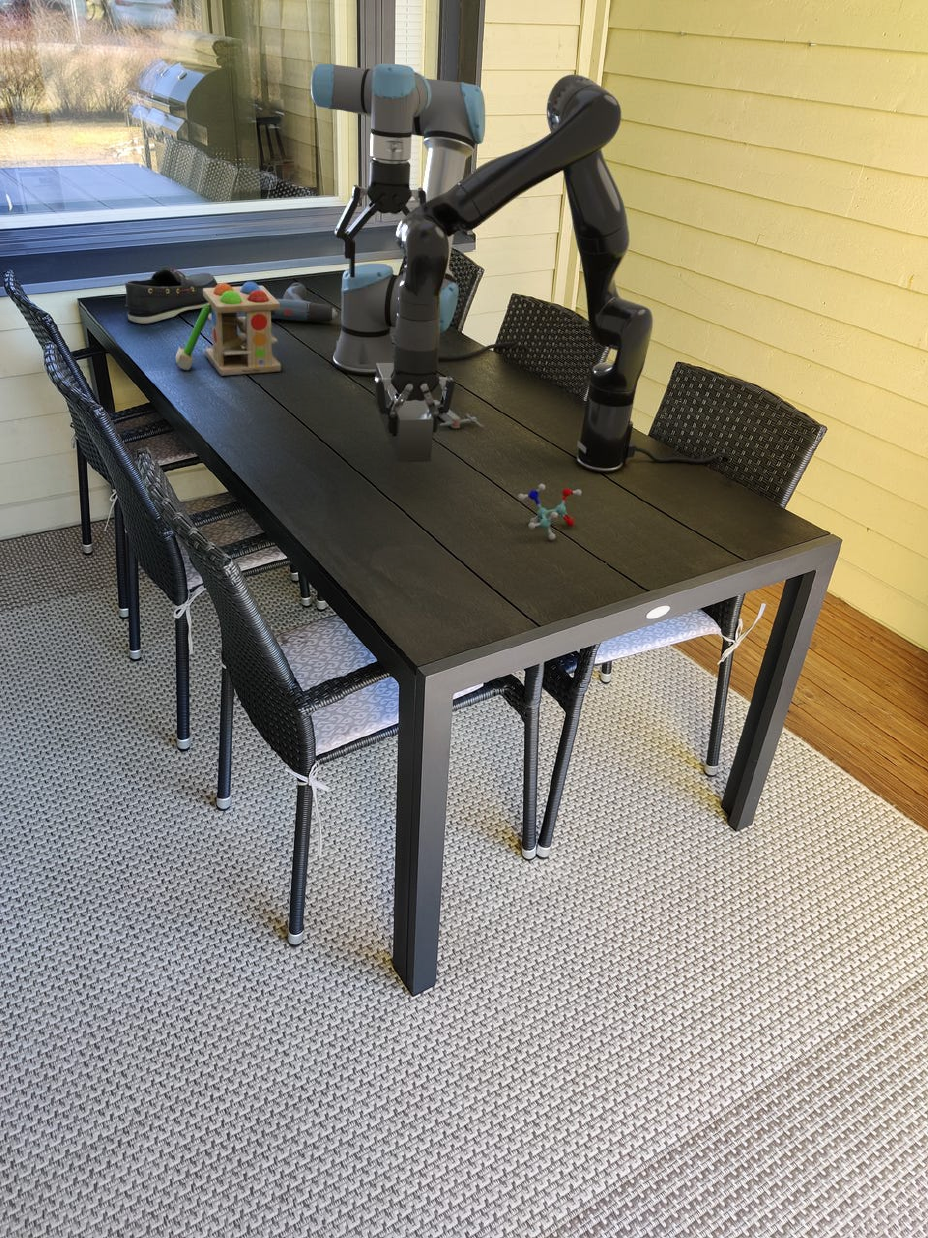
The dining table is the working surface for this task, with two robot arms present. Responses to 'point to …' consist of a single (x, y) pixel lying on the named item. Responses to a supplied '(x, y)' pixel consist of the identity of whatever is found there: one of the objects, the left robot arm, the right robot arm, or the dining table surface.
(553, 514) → the molecular model
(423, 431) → the bar
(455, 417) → the clamp
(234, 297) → the pounding bench toy
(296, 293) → the power drill
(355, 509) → the dining table surface
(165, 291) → the boat shoe
